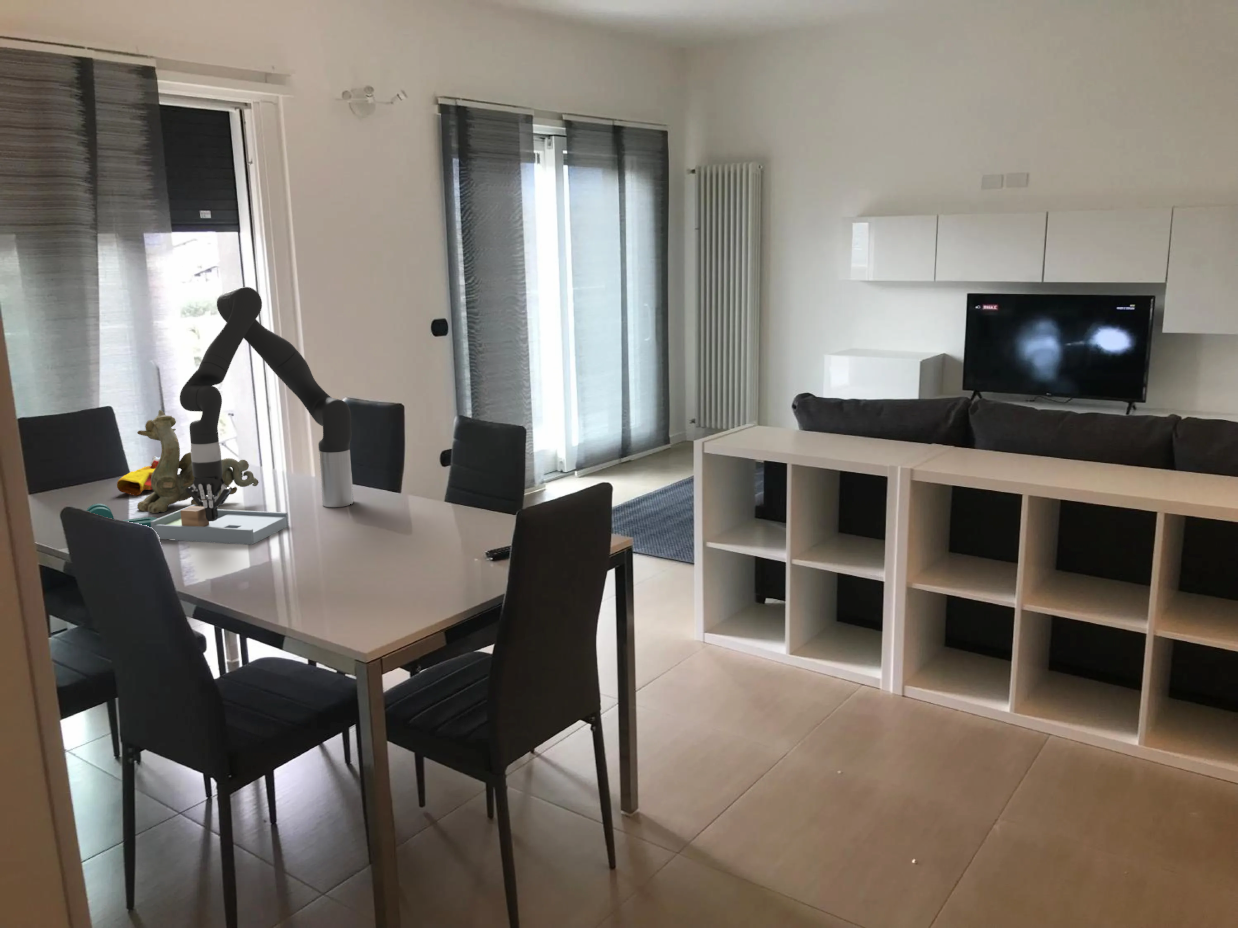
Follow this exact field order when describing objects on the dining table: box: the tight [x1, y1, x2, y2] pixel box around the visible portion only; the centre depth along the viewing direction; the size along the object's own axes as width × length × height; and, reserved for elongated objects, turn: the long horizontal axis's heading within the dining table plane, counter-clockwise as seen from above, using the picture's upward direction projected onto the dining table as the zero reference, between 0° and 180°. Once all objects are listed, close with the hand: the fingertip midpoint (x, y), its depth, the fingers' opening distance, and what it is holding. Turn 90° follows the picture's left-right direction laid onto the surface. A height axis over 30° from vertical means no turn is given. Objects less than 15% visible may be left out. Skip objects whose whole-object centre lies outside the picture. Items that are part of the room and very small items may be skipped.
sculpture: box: [136, 409, 260, 514], centre depth 307 cm, size 29×27×30 cm
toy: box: [116, 455, 161, 497], centre depth 334 cm, size 9×13×30 cm
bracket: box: [85, 503, 158, 527], centre depth 280 cm, size 18×7×8 cm, turn 121°
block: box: [180, 505, 209, 527], centre depth 272 cm, size 5×5×5 cm
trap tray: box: [151, 504, 289, 546], centre depth 277 cm, size 19×30×5 cm, turn 79°
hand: (212, 520), depth 272 cm, fingers closed
